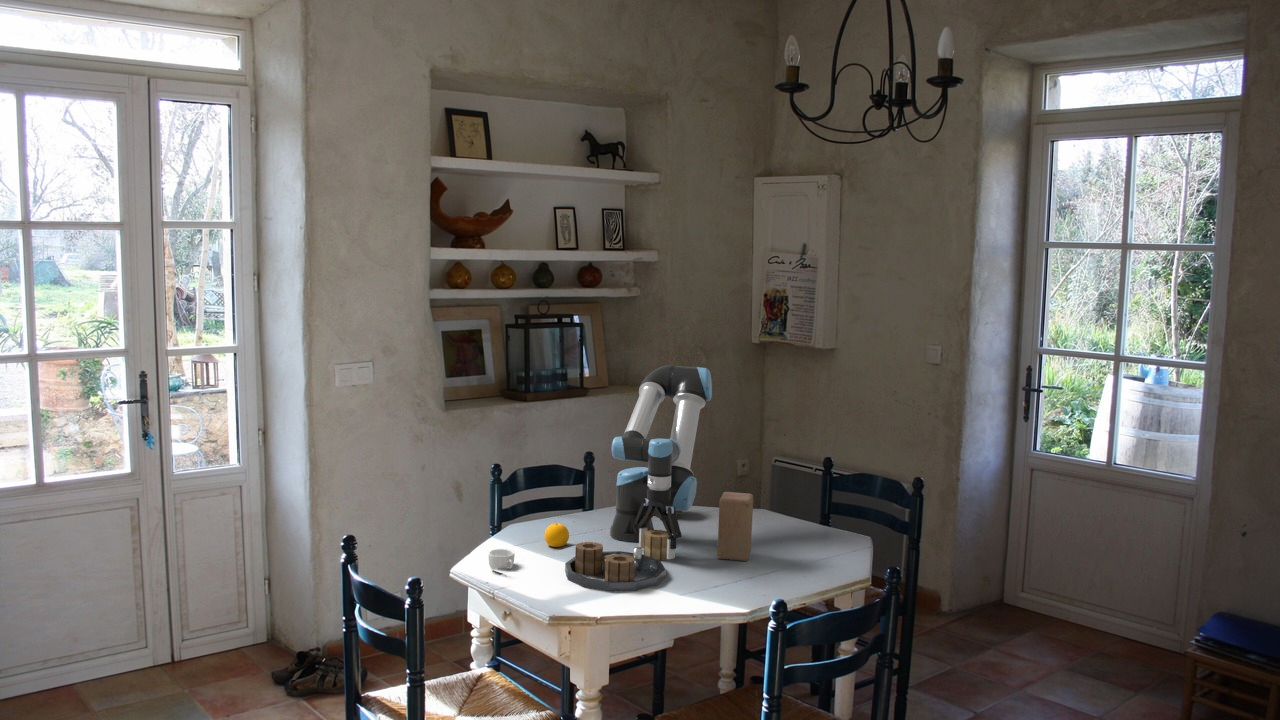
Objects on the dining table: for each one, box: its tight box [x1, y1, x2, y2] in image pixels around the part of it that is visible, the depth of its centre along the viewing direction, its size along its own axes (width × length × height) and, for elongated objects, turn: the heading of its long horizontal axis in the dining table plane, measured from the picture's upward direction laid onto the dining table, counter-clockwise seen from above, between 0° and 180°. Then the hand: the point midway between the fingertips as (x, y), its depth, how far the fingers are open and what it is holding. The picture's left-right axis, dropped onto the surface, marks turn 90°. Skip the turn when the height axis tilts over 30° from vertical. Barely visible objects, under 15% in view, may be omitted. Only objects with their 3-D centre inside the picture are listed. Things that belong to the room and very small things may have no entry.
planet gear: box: [643, 529, 669, 561], centre depth 315 cm, size 8×8×8 cm
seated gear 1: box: [574, 541, 604, 575], centre depth 294 cm, size 8×8×8 cm
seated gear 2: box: [605, 554, 635, 581], centre depth 282 cm, size 8×8×8 cm
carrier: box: [564, 546, 666, 593], centre depth 291 cm, size 29×29×8 cm
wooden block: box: [716, 491, 754, 562], centre depth 317 cm, size 10×10×20 cm
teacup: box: [488, 548, 515, 573], centre depth 295 cm, size 10×8×5 cm
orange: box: [544, 522, 570, 548], centre depth 322 cm, size 8×8×8 cm
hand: (656, 553), depth 315 cm, fingers open, 13 cm apart
